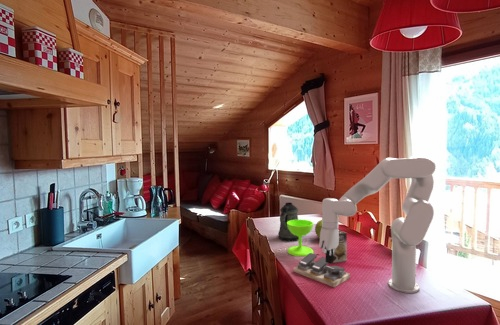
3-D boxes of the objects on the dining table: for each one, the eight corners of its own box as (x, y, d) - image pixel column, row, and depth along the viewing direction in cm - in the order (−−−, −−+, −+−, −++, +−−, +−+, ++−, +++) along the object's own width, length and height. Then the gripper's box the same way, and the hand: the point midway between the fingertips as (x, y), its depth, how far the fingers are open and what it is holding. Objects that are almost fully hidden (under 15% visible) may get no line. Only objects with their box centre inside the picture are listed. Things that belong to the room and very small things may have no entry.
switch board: (310, 263, 162) (309, 254, 162) (350, 277, 144) (349, 267, 144) (293, 271, 153) (293, 262, 152) (334, 287, 135) (334, 276, 135)
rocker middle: (322, 258, 153) (322, 256, 153) (330, 261, 150) (329, 258, 149) (311, 269, 147) (311, 266, 147) (319, 271, 143) (318, 269, 143)
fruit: (338, 244, 193) (327, 225, 191) (319, 248, 201) (308, 229, 199) (343, 230, 206) (333, 212, 204) (325, 234, 214) (315, 217, 212)
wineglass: (313, 257, 171) (313, 226, 170) (286, 255, 175) (285, 226, 174) (313, 247, 187) (313, 219, 186) (288, 246, 190) (287, 219, 189)
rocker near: (336, 268, 147) (336, 265, 147) (344, 270, 144) (344, 268, 144) (325, 268, 141) (325, 266, 141) (333, 271, 137) (333, 269, 137)
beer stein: (300, 234, 215) (300, 200, 214) (303, 243, 196) (302, 206, 195) (278, 234, 217) (277, 200, 216) (278, 242, 198) (277, 206, 196)
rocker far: (310, 254, 159) (309, 252, 159) (317, 256, 156) (316, 254, 155) (299, 264, 153) (298, 262, 152) (306, 266, 149) (305, 264, 149)
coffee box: (332, 263, 162) (332, 234, 161) (326, 259, 168) (326, 231, 167) (347, 261, 165) (347, 232, 164) (340, 257, 171) (340, 229, 170)
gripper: (332, 220, 146) (331, 256, 148) (314, 225, 136) (313, 264, 138) (345, 223, 141) (344, 260, 142) (328, 229, 131) (327, 269, 132)
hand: (329, 262), depth 140 cm, fingers closed
